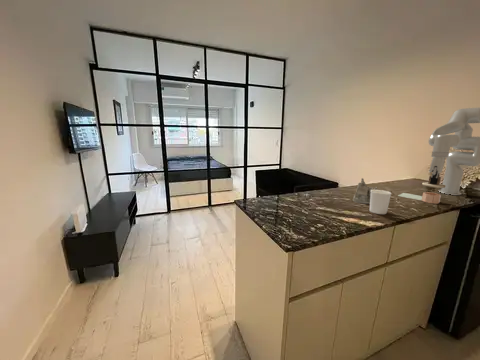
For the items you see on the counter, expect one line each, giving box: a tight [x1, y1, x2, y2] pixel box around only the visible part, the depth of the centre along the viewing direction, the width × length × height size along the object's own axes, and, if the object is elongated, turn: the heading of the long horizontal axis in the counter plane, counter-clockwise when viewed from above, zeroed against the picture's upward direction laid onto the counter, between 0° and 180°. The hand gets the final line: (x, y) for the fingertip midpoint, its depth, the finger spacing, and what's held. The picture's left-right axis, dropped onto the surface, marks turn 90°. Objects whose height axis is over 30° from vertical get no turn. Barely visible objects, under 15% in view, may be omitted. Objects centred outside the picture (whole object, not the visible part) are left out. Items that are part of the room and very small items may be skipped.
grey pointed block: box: [352, 177, 378, 205], centre depth 138 cm, size 16×16×15 cm
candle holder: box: [368, 189, 392, 215], centre depth 118 cm, size 10×10×12 cm
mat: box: [397, 192, 422, 201], centre depth 147 cm, size 13×13×1 cm
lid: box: [421, 175, 446, 189], centre depth 132 cm, size 11×11×6 cm
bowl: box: [421, 191, 442, 205], centre depth 135 cm, size 8×8×6 cm
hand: (433, 183), depth 133 cm, fingers closed on lid, 3 cm apart
